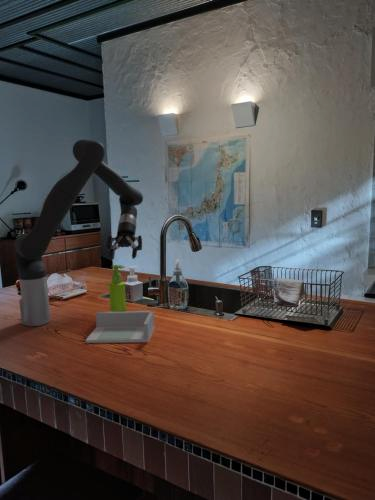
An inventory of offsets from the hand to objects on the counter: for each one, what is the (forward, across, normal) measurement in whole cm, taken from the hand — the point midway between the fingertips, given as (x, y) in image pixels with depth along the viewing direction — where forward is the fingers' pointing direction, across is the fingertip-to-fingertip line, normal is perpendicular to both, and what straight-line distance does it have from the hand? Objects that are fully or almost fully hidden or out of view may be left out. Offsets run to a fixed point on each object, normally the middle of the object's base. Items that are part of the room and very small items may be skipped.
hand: (122, 257), depth 155 cm
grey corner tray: (+36, +5, -6) cm, 37 cm away
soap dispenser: (+23, 0, +7) cm, 24 cm away
